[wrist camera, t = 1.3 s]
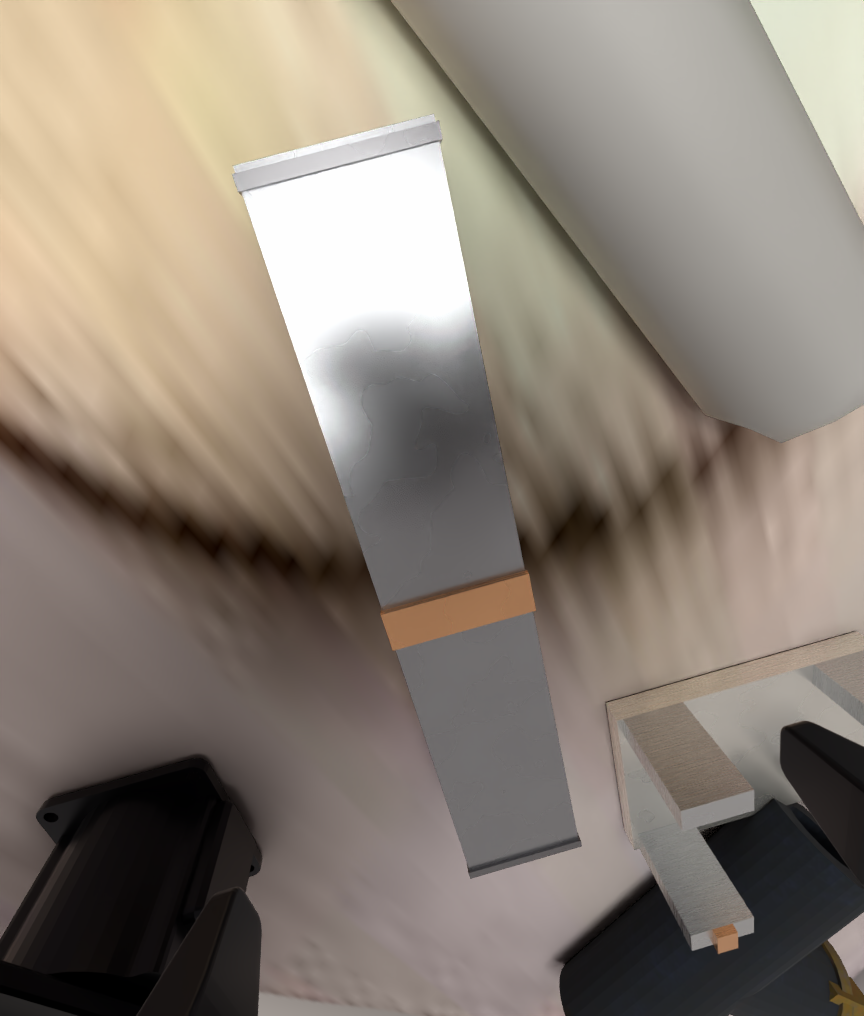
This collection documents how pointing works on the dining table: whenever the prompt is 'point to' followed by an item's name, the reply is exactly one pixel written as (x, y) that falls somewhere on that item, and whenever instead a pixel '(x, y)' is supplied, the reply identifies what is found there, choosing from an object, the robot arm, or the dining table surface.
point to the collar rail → (722, 767)
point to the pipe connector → (760, 955)
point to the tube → (679, 187)
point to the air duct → (420, 465)
